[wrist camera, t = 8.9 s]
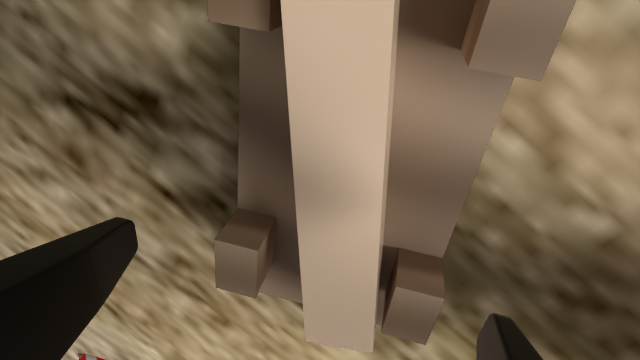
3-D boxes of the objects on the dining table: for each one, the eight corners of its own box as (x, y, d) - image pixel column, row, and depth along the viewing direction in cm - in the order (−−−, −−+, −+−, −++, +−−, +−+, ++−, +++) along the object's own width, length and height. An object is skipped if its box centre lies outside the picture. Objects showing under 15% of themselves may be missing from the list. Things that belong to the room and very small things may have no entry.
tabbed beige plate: (260, -176, 12) (200, -226, 9) (585, -141, 11) (656, -184, 8) (246, 267, 23) (216, 321, 20) (412, 311, 22) (411, 376, 18)
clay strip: (309, -84, 12) (273, -97, 9) (406, -89, 11) (401, -105, 8) (322, 284, 20) (305, 341, 17) (379, 293, 19) (372, 353, 16)
